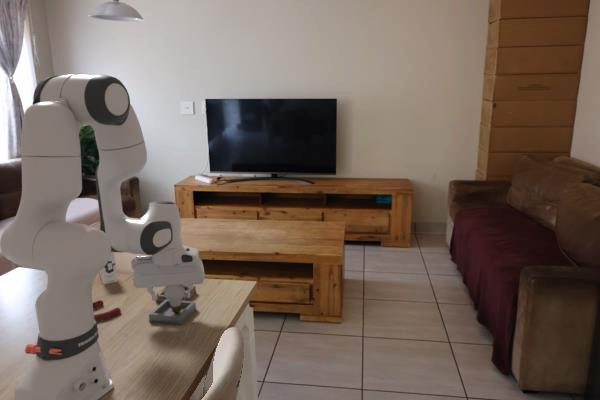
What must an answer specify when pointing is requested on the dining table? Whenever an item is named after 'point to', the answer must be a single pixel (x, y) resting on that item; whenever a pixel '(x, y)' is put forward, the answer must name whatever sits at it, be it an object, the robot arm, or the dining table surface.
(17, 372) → the dining table surface
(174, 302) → the light bulb
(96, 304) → the pliers
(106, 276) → the ink box
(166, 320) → the tray
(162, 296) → the frame
